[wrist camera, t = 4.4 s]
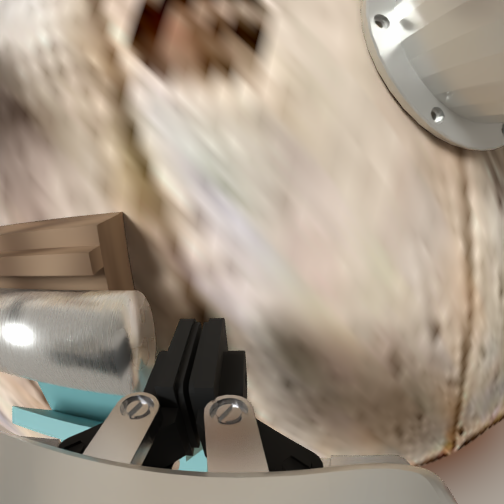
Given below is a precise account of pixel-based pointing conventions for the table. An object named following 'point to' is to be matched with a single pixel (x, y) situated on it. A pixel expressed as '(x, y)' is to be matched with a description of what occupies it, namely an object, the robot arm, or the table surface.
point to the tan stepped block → (66, 254)
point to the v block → (82, 418)
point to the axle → (78, 338)
